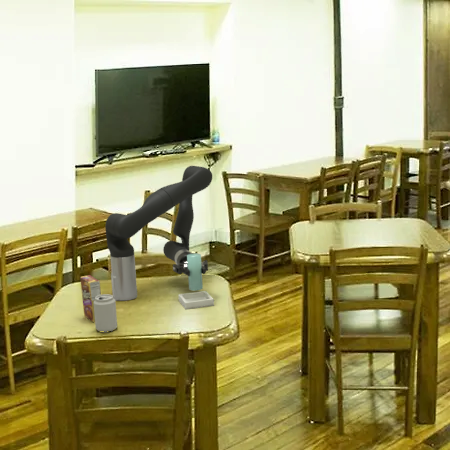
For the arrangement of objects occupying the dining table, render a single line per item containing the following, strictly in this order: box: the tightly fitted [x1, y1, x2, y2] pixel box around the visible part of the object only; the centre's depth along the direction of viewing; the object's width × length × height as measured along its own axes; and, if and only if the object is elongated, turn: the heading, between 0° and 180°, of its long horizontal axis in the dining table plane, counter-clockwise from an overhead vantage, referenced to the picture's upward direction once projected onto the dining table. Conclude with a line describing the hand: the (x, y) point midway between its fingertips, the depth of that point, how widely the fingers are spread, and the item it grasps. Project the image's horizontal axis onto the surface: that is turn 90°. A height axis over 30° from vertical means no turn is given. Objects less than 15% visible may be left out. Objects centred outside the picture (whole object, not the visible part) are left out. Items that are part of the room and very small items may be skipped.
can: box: [94, 293, 118, 333], centre depth 266 cm, size 8×8×12 cm
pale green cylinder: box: [187, 252, 204, 292], centre depth 288 cm, size 5×5×13 cm
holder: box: [178, 290, 215, 310], centre depth 291 cm, size 11×11×2 cm
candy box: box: [79, 274, 102, 323], centre depth 277 cm, size 9×4×15 cm, turn 33°
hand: (196, 272), depth 286 cm, fingers closed on pale green cylinder, 5 cm apart
